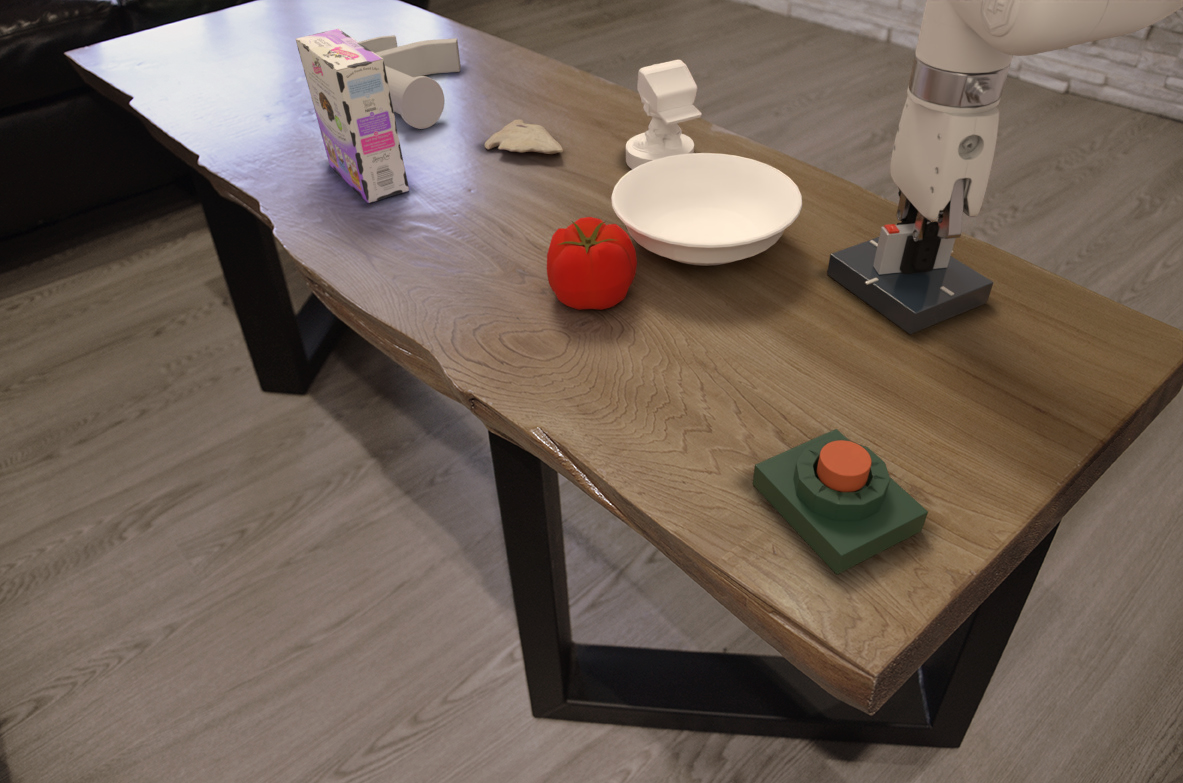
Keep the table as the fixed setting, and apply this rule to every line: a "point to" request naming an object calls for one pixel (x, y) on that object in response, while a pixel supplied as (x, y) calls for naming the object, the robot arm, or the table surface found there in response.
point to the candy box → (354, 113)
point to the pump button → (843, 466)
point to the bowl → (706, 207)
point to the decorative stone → (524, 139)
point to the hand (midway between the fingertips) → (910, 263)
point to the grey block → (894, 245)
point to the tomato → (591, 264)
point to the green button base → (838, 505)
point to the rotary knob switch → (909, 288)
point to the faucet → (416, 75)
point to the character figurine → (664, 112)
